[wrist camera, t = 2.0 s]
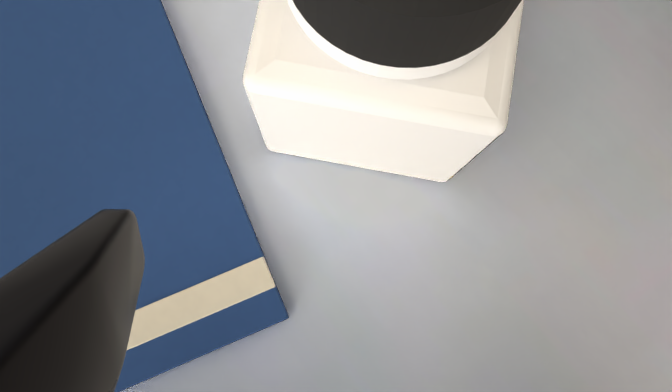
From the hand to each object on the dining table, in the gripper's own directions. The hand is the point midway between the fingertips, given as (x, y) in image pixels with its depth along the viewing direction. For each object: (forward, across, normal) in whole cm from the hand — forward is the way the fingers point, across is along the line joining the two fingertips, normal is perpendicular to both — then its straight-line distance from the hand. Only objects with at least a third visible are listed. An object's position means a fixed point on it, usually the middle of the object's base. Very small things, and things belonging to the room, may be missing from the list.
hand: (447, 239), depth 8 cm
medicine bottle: (+15, 0, +4) cm, 15 cm away
